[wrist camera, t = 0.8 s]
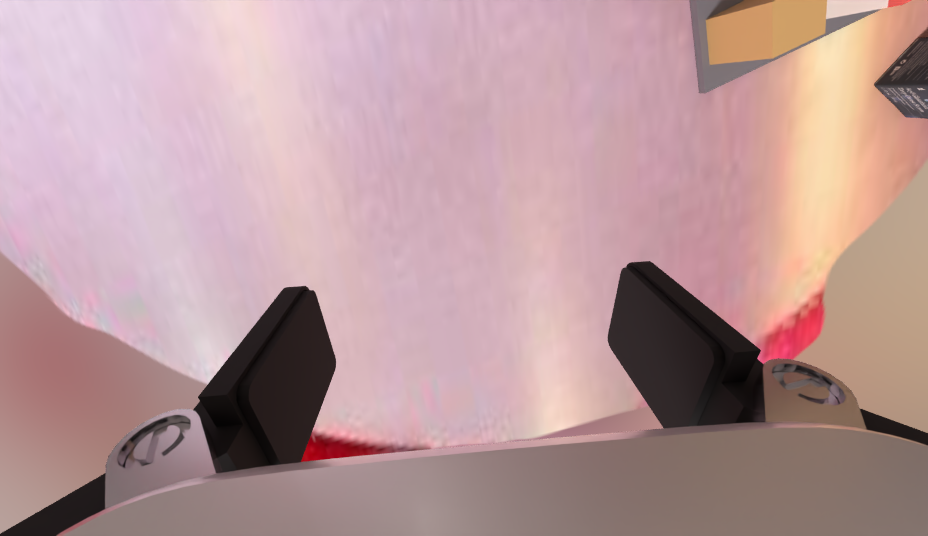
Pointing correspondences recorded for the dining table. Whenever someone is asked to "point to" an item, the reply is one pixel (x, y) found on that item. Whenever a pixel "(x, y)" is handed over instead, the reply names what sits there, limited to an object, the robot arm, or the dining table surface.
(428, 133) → the dining table surface
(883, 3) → the white block red top
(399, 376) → the dining table surface
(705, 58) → the fuse block
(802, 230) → the dining table surface
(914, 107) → the box
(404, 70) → the dining table surface
